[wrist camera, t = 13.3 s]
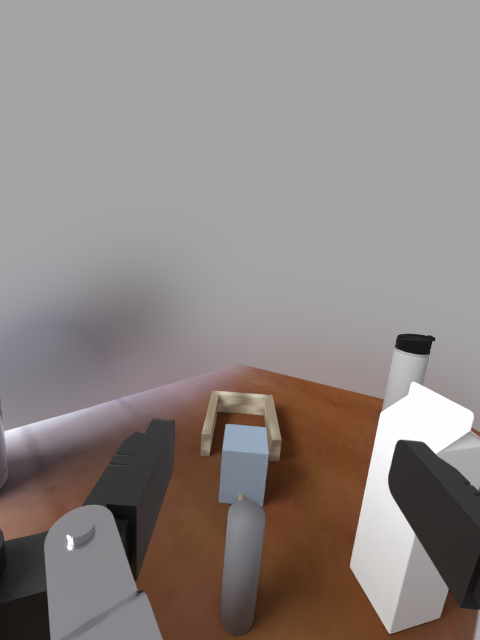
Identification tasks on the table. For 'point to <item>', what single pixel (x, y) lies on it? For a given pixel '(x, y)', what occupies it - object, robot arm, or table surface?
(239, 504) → the block
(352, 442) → the table surface
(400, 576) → the milk
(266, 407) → the frame
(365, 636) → the table surface
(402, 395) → the travel mug
